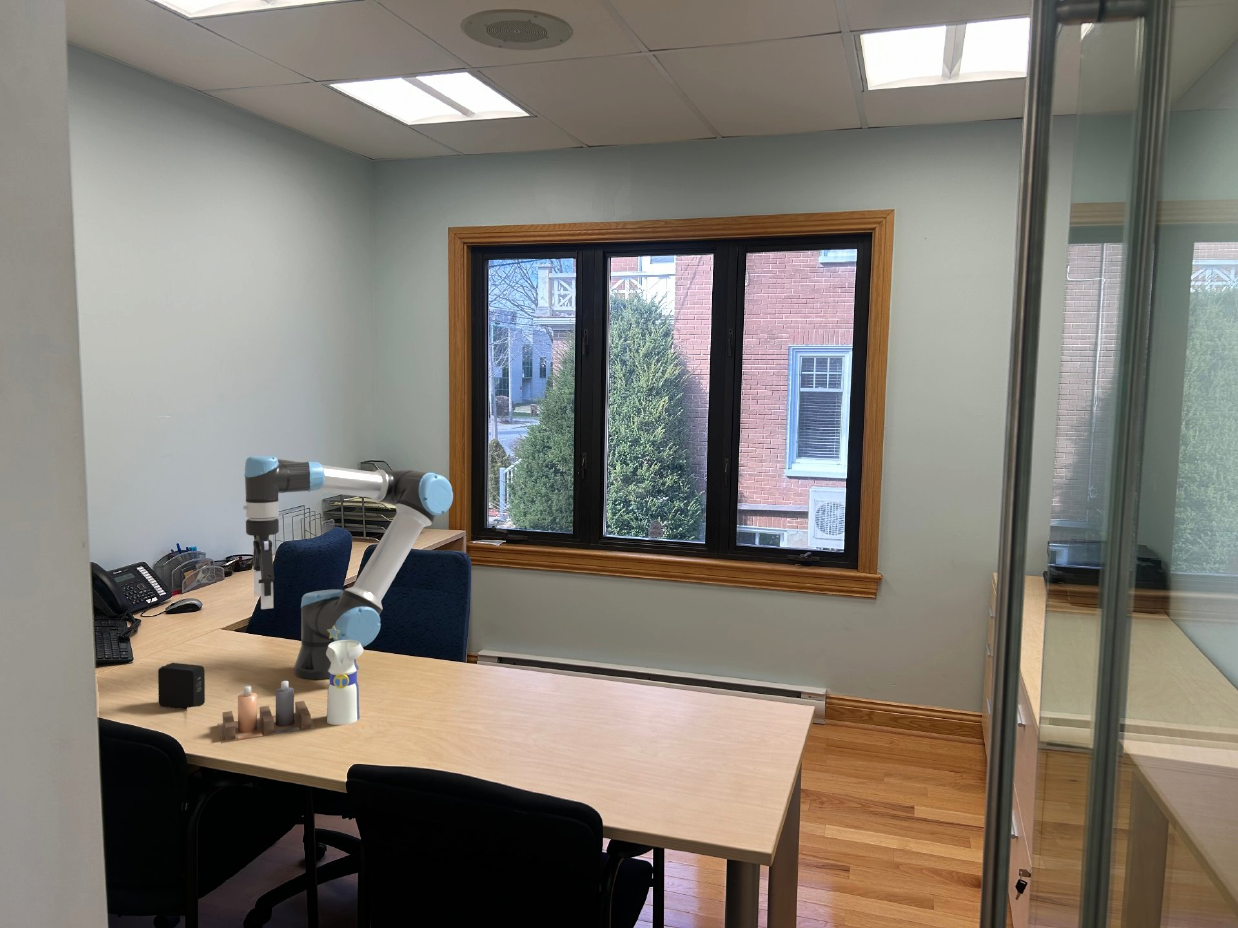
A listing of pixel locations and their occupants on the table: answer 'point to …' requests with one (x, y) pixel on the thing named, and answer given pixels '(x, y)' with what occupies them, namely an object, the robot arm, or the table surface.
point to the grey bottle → (284, 705)
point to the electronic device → (181, 685)
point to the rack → (265, 724)
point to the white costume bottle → (343, 680)
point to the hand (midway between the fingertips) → (263, 601)
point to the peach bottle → (247, 711)
